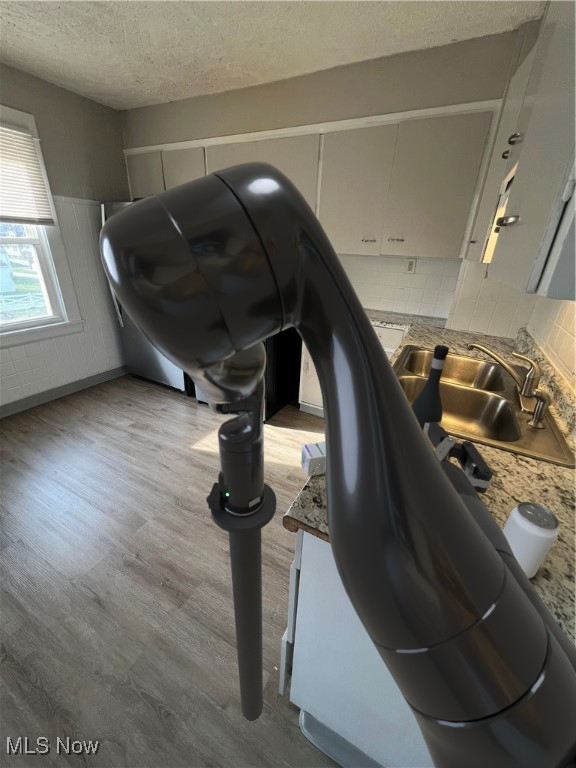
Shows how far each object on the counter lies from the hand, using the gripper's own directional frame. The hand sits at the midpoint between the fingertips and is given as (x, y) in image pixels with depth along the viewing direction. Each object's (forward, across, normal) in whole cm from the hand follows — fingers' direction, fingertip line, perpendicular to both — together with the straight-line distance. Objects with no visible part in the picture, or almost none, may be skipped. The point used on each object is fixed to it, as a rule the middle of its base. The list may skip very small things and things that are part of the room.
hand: (398, 425), depth 42 cm
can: (+4, -27, +30) cm, 40 cm away
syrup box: (+30, -2, +27) cm, 40 cm away
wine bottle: (+36, -19, +30) cm, 50 cm away
